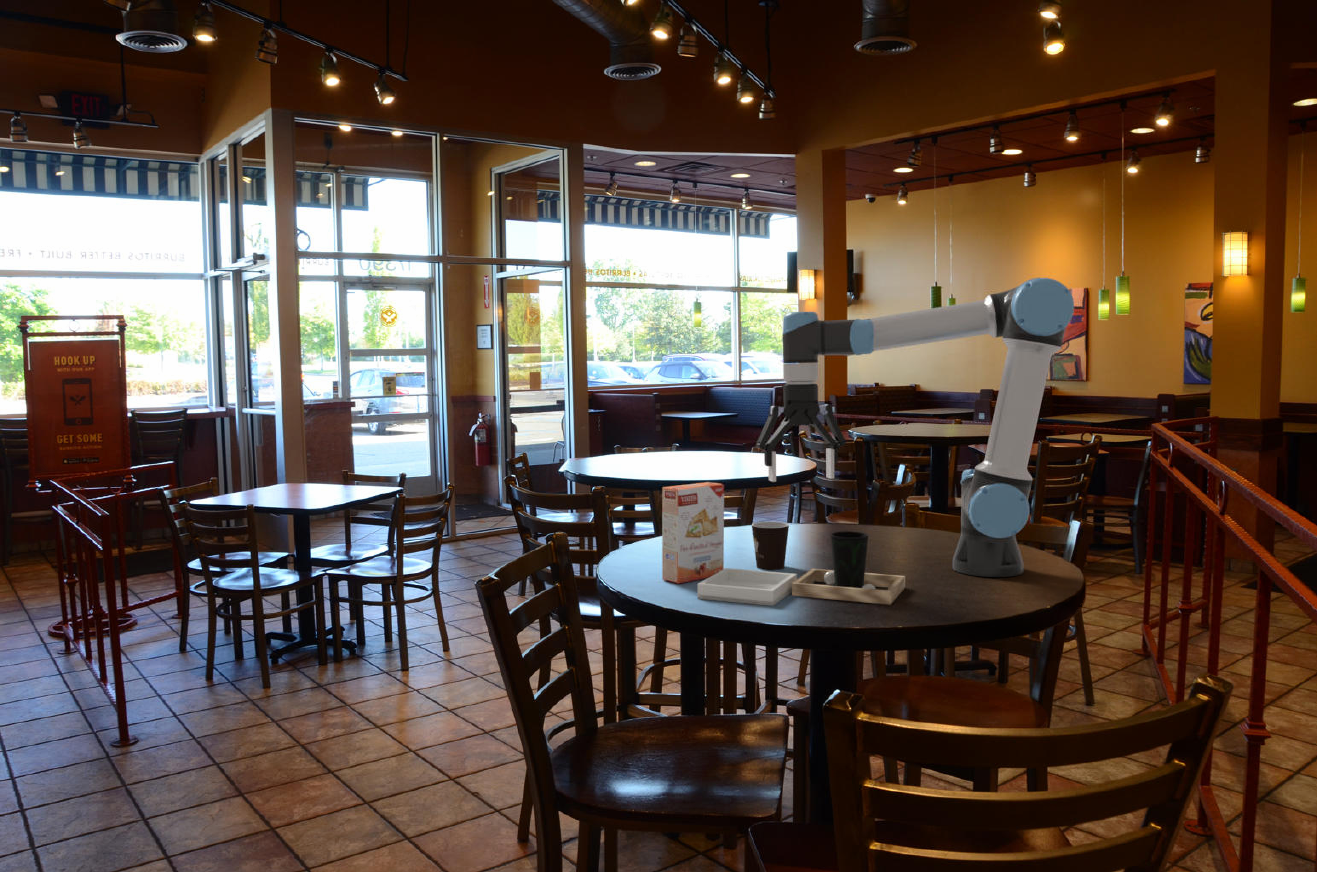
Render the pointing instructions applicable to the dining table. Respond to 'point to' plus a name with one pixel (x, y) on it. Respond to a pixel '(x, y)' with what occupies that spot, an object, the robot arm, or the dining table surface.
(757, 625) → the dining table surface
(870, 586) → the pebble
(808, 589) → the frame
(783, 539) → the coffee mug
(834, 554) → the cup
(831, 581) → the pebble
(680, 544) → the cracker box
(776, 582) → the bin
